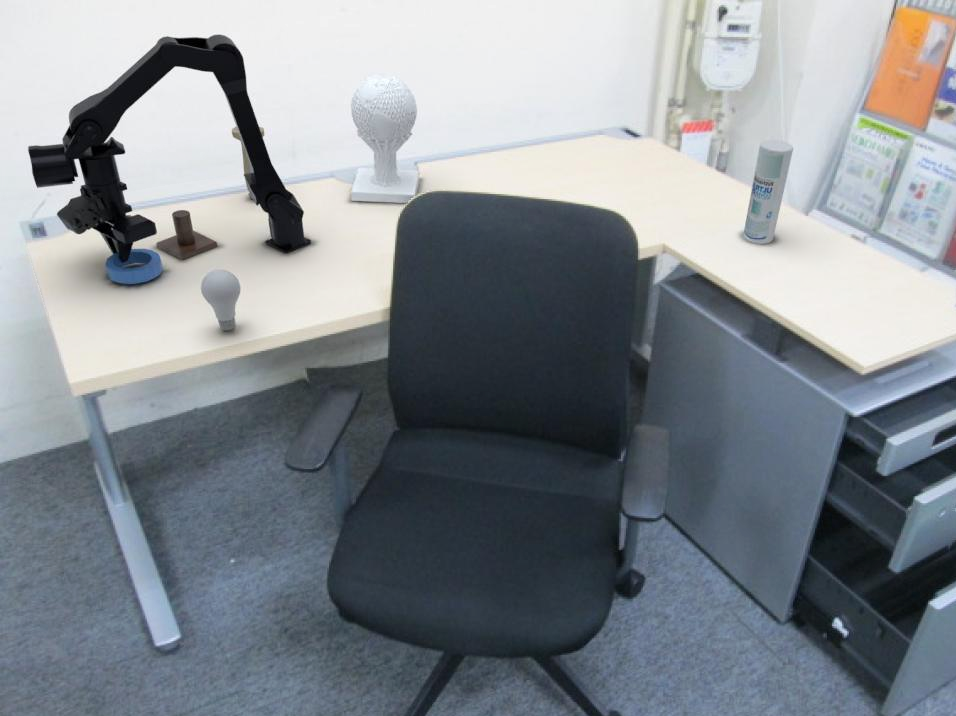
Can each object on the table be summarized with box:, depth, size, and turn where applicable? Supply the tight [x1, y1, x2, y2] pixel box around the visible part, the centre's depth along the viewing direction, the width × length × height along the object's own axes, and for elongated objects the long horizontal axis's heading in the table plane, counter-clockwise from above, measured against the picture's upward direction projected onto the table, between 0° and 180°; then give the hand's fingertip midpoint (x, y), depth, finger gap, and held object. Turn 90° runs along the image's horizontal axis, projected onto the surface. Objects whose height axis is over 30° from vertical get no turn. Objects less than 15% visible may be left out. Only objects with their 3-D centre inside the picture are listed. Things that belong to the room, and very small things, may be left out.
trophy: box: [350, 74, 420, 204], centre depth 197 cm, size 14×14×25 cm
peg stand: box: [155, 209, 218, 261], centre depth 175 cm, size 8×8×7 cm
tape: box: [104, 248, 163, 285], centre depth 166 cm, size 9×9×2 cm
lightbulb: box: [200, 269, 242, 332], centre depth 150 cm, size 6×6×11 cm
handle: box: [231, 126, 265, 200], centre depth 193 cm, size 5×6×15 cm
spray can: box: [743, 139, 794, 245], centre depth 187 cm, size 6×6×20 cm
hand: (122, 260), depth 168 cm, fingers closed on tape, 1 cm apart
